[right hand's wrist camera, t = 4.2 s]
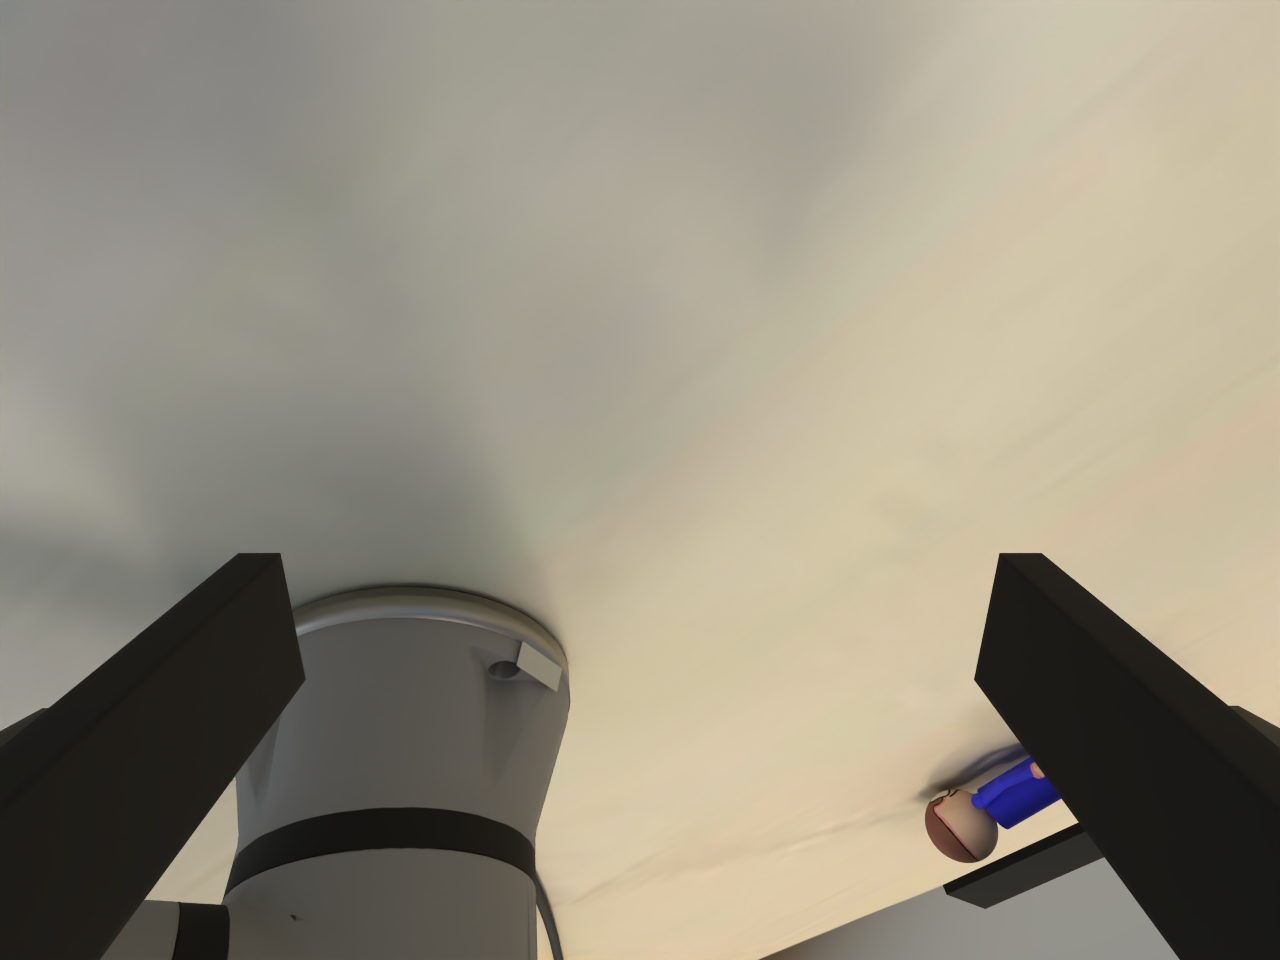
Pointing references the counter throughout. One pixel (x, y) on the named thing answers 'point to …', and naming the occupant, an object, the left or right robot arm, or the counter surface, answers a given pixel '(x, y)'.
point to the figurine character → (972, 835)
